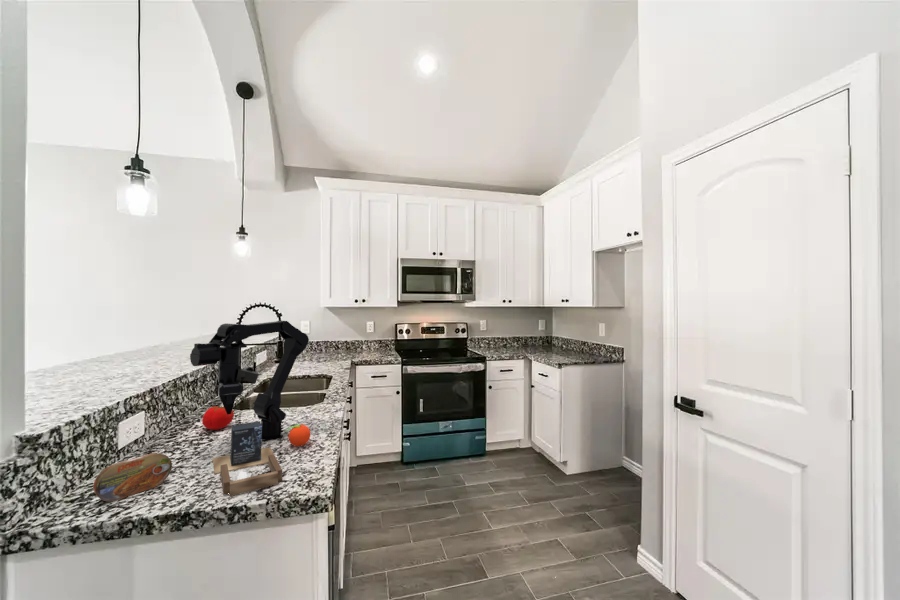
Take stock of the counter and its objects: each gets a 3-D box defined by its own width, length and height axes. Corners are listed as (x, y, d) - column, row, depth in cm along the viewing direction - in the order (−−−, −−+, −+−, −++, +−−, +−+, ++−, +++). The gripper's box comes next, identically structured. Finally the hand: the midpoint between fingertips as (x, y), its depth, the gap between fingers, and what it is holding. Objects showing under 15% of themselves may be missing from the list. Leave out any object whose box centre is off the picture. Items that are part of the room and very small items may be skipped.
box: (231, 466, 105) (232, 430, 105) (229, 459, 109) (231, 424, 110) (261, 460, 109) (262, 425, 109) (258, 454, 114) (260, 420, 114)
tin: (95, 508, 83) (96, 471, 83) (90, 503, 85) (92, 467, 85) (172, 481, 96) (173, 450, 96) (167, 478, 98) (168, 447, 98)
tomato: (197, 429, 135) (197, 407, 135) (225, 422, 144) (226, 401, 144) (209, 434, 130) (210, 411, 130) (238, 426, 139) (239, 405, 139)
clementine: (284, 451, 117) (284, 429, 117) (285, 443, 124) (285, 422, 124) (310, 448, 120) (310, 426, 120) (310, 440, 126) (310, 420, 127)
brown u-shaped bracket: (273, 464, 107) (274, 454, 107) (283, 483, 96) (283, 471, 97) (220, 476, 100) (220, 465, 100) (223, 497, 89) (224, 485, 89)
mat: (270, 447, 120) (270, 447, 120) (277, 461, 110) (277, 460, 110) (212, 459, 110) (212, 458, 110) (214, 474, 100) (214, 473, 100)
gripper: (261, 364, 114) (260, 413, 114) (253, 357, 129) (252, 400, 129) (220, 367, 108) (218, 419, 107) (216, 359, 123) (215, 405, 123)
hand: (227, 410), depth 117 cm, fingers open, 9 cm apart
